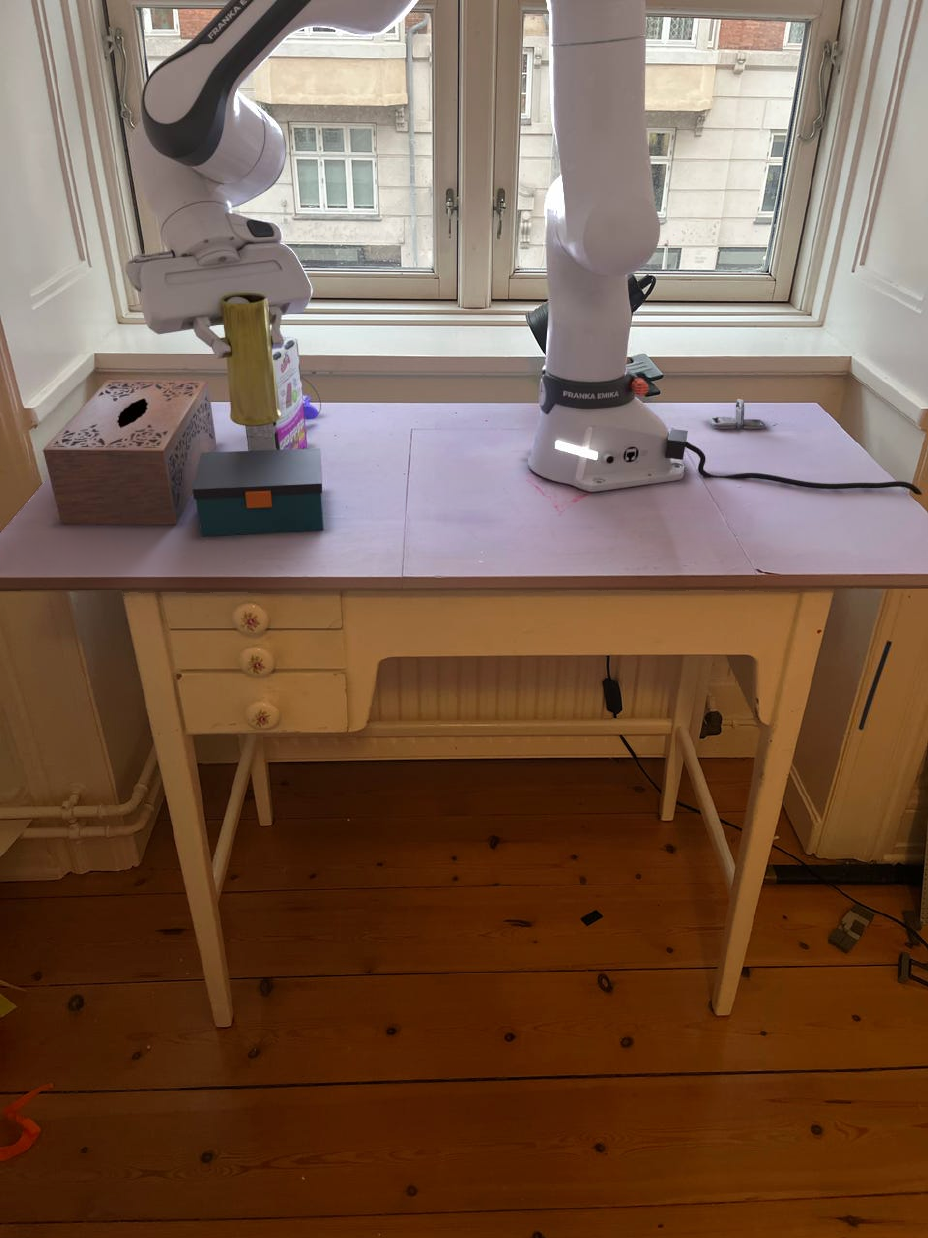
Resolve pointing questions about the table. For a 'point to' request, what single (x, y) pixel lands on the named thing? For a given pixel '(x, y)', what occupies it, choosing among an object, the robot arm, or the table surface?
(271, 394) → the vase
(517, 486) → the table surface
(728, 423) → the grey t-shaped piece
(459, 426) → the table surface
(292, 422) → the candy bar box
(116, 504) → the tissue box cover
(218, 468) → the lunchbox
